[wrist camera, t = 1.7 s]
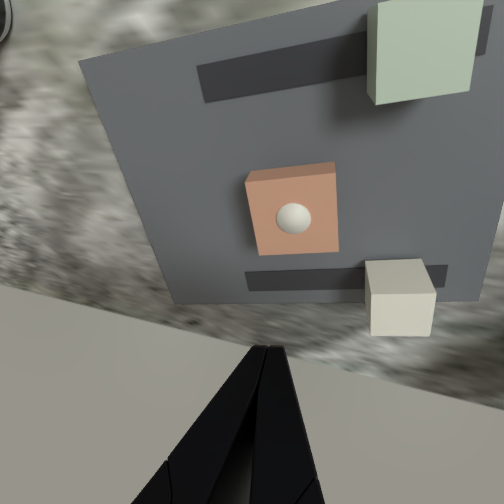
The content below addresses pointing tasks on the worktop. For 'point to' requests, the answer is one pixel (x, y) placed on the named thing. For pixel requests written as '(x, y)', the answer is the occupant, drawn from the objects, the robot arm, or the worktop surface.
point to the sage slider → (420, 48)
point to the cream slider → (399, 298)
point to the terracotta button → (294, 209)
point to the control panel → (303, 155)
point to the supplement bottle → (4, 18)
